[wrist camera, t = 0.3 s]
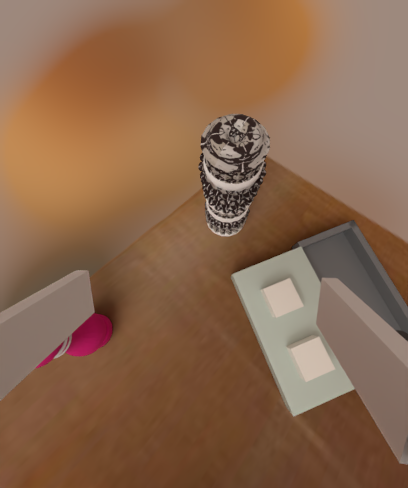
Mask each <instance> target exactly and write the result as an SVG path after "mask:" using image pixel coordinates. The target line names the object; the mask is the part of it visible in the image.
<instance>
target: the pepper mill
mask: <svg viewBox="0 0 408 488" xmlns="http://www.w3.org/2000/svg"><path fill="white" fill-rule="evenodd" d="M111 335H112V323H111V321H110V320H109V318H108V317H106V316H104V315H102V314H96V313H93V314H92V315H91V316H90V317H89V318H88V319H87V320H86V321H85V322H84V323H83V324H82V325H80V326H79V327H78V328H77V329H76V330H75V331H74V332H73V333H72V334H71V335H70V336H69V337H68V338H67V339H66V340H64V341H63V342H62V343H61V344H60V345H59V346H58V347H57V348H56V349H55V350H54V351H53V352H52V353H51V354H50V355H49V356H47V357H46V358H45V359H44V360H43V361H42V362H41V363H40V364H39V365H38V366H37V367H36V368H39V367H41V366H44V365H46V364H47V363H48V362H50V361H51V360H52V359H53V358H57V357H59V356H61V355H62V354H64V353H65V352H66V353H68V354H69V355H72V356H85V355H89V354H91V353H93V352H95V351H96V350H97V349H98V348H100V347H102V346H104V345H105V344H106V343H107V342H108V341H109V340H110V338H111Z"/></svg>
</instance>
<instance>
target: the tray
mask: <svg viewBox="0 0 408 488" xmlns="http://www.w3.org/2000/svg"><path fill="white" fill-rule="evenodd" d="M298 247H302V249H303V251H304V253H305V255H306V257H307V258H308V260H309V262H310V264H311V266H312V268H313V270H314V271H315V273H316V275H317V277H318V279H319V281H320V283H321V280H322V278H338V279H339V280H340V281H341V282H342V283H343V284H344V285H345V286H347V287H348V288H349V289H350V290H351V291H352V292H353V293H354V294H355V295H356V296H358V297H359V298H360V299H361V300H362V301H363V302H364V303H365V304H366V305H368V306H369V307H370V308H371V309H372V310H373V311H374V312H375V313H376V314H378V315H379V316H380V317H381V318H382V319H383V320H384V321H385V322H386V323H388V324H389V325H390V326H391V327H392V328H393V329H394V330H401V331H404V332H406V333H407V334H408V306H407V305H406V303H405V302H404V300H403V298H402V297H401V295H400V294H399V292H398V290H397V289H396V287H395V285H394V284H393V282H392V281H391V279H390V277H389V276H388V274H387V273H386V271H385V269H384V268H383V266H382V265H381V263H380V261H379V260H378V258H377V257H376V255H375V253H374V252H373V250H372V249H371V247H370V245H369V244H368V242H367V241H366V239H365V237H364V236H363V234H362V233H361V231H360V229H359V228H358V226H357V225H356V223H355V221H354V220H352V221H350V222H347V223H345V224H342V225H340V226H337V227H335V228H332V229H330V230H327V231H325V232H322V233H320V234H317V235H315V236H312V237H310V238H307V239H305V240H302V241H300V242H297V243H296V244H295V245H294V246H292V249H296V248H298Z"/></svg>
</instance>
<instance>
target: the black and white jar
mask: <svg viewBox="0 0 408 488" xmlns="http://www.w3.org/2000/svg"><path fill="white" fill-rule="evenodd" d="M201 149H202V152H203V153H202V154H201V155H200V160H201V161H202V162H200V164H199V170H200V171H202V172H201V174H200V178H201V182H202V185H203V187H202V189H203V191H204V197H205V199H206V202H205V209H206V210H205V213H206V221H207V224H208V227H209V228H210V229H211V230H212V231H213V233H215V234H217V235H219V236H227V237H229V236H232V235H235V234H237V233H238V232H239V231H240V230H241V229H242V228H243V226H244V224H245V222H246V220H247V216H248V213H249V211H250V210H249V207H250V205H251V203H252V201H253V198H254V197H255V196H256V195H257V191H258V190H259V188H260V185H261V184H262V182H263V177H264V176H265V175H266V171H265V170H264V169H265V167H266V162H265V161H264V160H265V158H266V156H267V154H268V152H269V150H270V138H269V135H268V133H267V132H266V130H265V128H264V127H263V126H262V125H261V124H260V123H259V122H258V121H257V120H255V119H253V118H251V117H248V116H245V115H243V114H230V115H227V116H223V117H220V118H217V119H216V120H214V121H213V122H212V123H210V124H209V125H208V126H207V127H206V129H205V131H204V133H203V134H202V137H201Z"/></svg>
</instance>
